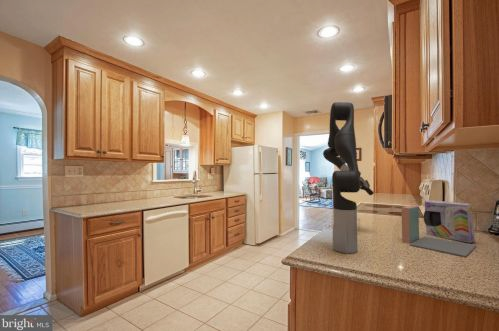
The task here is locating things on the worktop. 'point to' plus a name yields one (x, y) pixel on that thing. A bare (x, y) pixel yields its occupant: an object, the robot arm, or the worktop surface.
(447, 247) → the mat
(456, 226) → the cake pan box
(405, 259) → the worktop surface
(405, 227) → the tile
